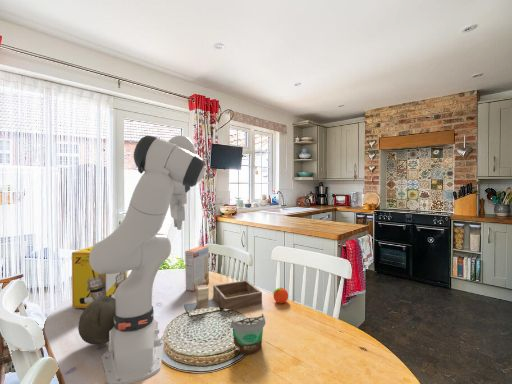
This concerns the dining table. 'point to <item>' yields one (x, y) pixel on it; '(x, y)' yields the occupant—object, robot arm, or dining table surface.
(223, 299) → the box frame
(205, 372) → the dining table surface
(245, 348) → the food container
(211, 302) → the slate mat
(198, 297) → the beech block
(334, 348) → the dining table surface
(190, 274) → the cracker box
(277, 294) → the tomato
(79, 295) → the packaging box
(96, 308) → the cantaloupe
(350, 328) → the dining table surface
